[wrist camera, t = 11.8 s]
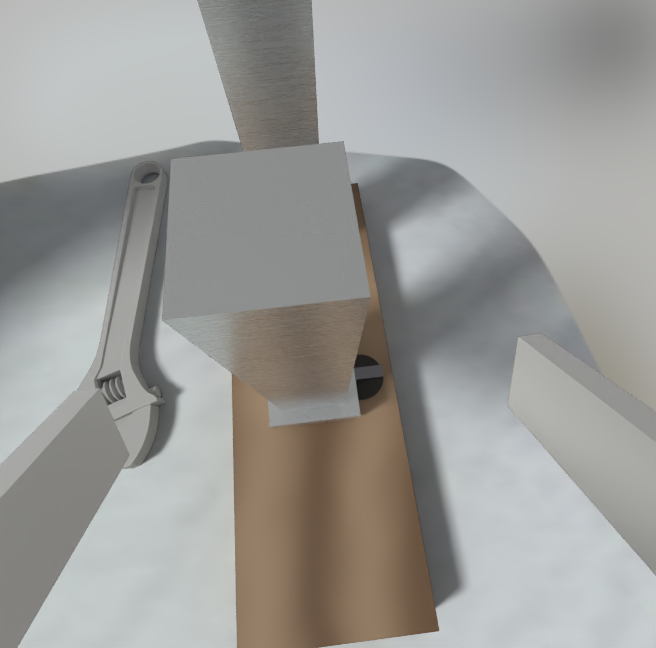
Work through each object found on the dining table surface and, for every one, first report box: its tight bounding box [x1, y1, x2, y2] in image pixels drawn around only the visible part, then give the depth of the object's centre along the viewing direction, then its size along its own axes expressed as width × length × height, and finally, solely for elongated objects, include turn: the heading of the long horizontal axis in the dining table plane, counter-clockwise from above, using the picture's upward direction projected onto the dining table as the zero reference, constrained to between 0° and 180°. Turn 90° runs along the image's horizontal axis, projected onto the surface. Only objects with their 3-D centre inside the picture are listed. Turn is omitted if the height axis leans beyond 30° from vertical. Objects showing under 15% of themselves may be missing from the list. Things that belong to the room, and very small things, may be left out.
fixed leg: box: [197, 0, 319, 152], centre depth 18 cm, size 7×5×16 cm
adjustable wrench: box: [77, 161, 168, 469], centre depth 25 cm, size 25×6×2 cm, turn 178°
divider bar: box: [232, 183, 439, 648], centre depth 23 cm, size 10×28×2 cm, turn 7°
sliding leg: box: [162, 141, 384, 428], centre depth 14 cm, size 7×5×16 cm
